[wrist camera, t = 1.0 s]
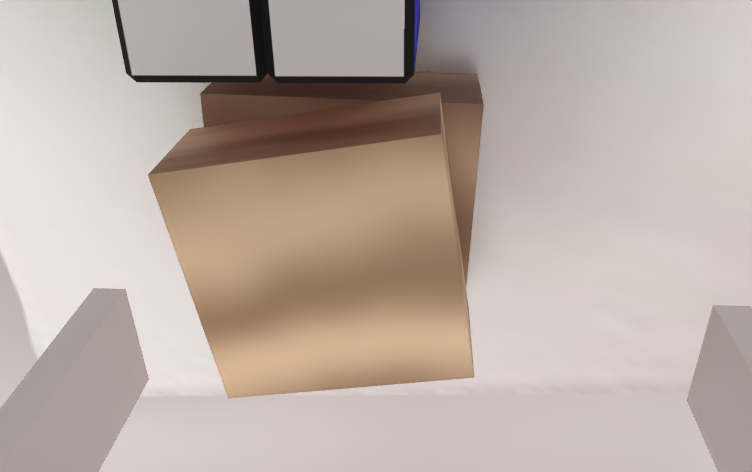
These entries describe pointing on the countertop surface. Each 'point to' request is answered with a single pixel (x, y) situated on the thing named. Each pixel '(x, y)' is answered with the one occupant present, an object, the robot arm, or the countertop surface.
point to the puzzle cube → (269, 40)
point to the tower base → (293, 98)
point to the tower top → (322, 247)
